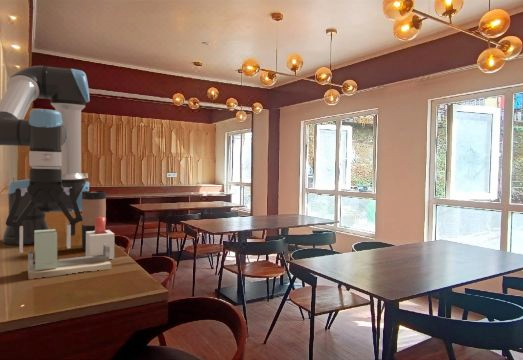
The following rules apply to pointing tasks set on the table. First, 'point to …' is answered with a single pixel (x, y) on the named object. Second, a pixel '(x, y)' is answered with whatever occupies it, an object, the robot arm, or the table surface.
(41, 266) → the carriage
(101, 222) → the button
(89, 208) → the travel mug
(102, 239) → the hollow box
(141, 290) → the table surface
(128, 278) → the table surface
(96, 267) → the rail
